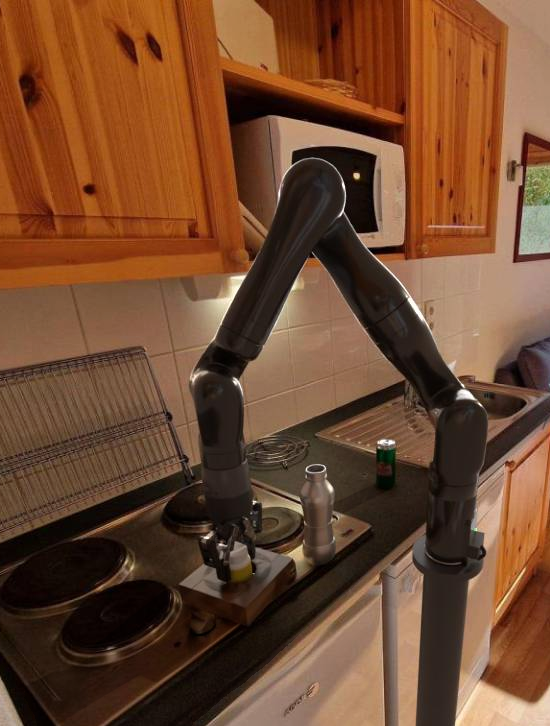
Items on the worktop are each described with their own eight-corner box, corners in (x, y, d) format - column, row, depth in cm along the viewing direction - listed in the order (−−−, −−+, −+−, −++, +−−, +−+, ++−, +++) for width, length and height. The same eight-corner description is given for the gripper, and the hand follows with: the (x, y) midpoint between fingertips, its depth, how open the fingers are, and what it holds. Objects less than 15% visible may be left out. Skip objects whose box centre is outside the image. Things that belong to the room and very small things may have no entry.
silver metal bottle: (296, 559, 95) (290, 468, 87) (323, 545, 99) (319, 457, 92) (316, 574, 90) (311, 480, 83) (343, 559, 95) (341, 468, 87)
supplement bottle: (259, 585, 87) (255, 547, 84) (240, 601, 84) (235, 561, 80) (240, 576, 90) (235, 538, 86) (220, 591, 86) (215, 552, 83)
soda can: (373, 487, 122) (373, 444, 118) (379, 478, 127) (380, 437, 122) (392, 490, 121) (392, 447, 116) (397, 482, 125) (398, 439, 121)
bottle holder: (294, 575, 90) (293, 558, 89) (247, 626, 78) (245, 607, 77) (234, 557, 95) (232, 540, 94) (181, 602, 83) (178, 584, 82)
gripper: (215, 511, 71) (228, 600, 77) (272, 471, 83) (278, 551, 90) (176, 501, 74) (191, 588, 80) (237, 463, 86) (246, 541, 92)
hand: (237, 568), depth 85 cm, fingers open, 6 cm apart
